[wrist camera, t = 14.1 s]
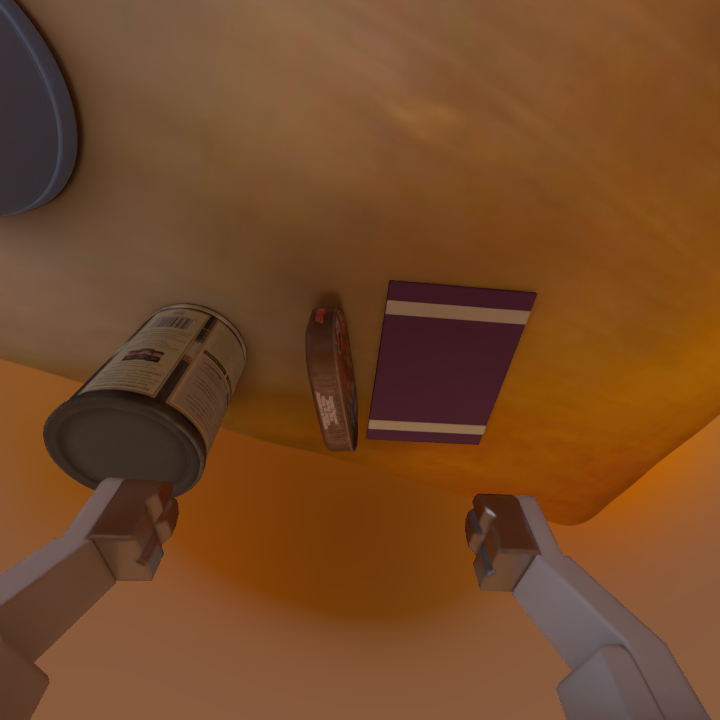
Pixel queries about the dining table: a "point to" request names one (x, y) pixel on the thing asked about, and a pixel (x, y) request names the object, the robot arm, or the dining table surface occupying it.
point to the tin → (332, 378)
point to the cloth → (443, 360)
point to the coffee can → (152, 402)
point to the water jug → (31, 117)
